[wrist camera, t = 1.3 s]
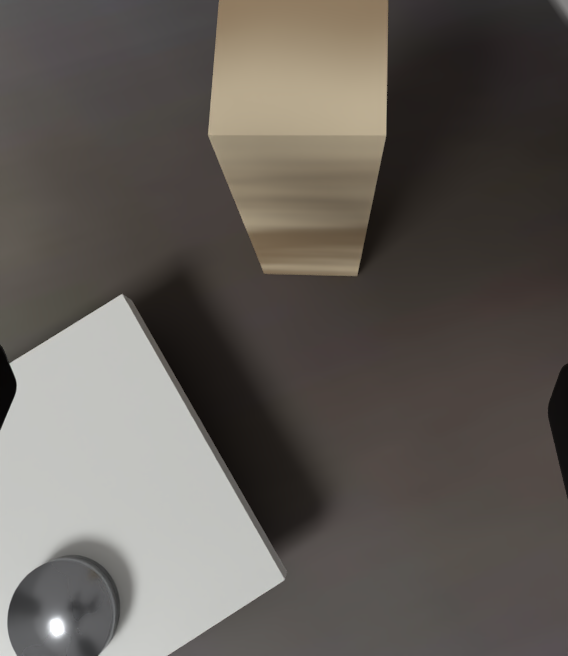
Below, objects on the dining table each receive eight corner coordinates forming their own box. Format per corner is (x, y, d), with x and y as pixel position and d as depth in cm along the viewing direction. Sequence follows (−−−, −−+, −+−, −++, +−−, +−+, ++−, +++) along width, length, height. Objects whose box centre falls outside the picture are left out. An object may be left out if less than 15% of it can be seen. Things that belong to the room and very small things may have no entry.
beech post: (357, 275, 22) (386, 135, 11) (264, 273, 23) (207, 135, 12) (359, 188, 23) (388, -21, 12) (269, 187, 23) (220, -17, 13)
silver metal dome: (138, 629, 18) (129, 639, 17) (48, 687, 18) (35, 699, 17) (91, 534, 19) (81, 539, 18) (4, 589, 18) (-10, 597, 18)
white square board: (290, 560, 20) (284, 579, 18) (70, 702, 20) (32, 742, 17) (145, 308, 23) (122, 293, 20) (-54, 431, 22) (-103, 432, 20)
